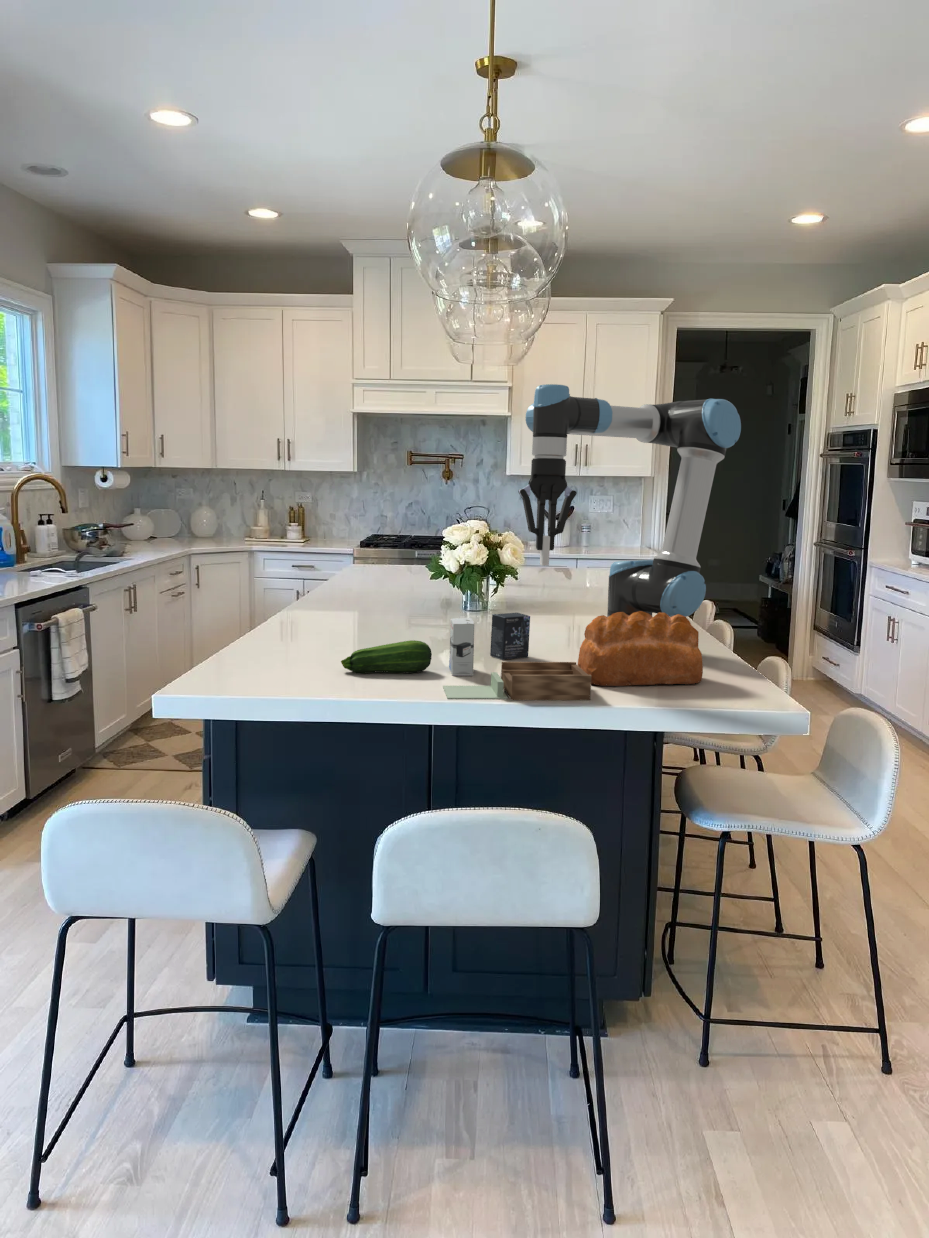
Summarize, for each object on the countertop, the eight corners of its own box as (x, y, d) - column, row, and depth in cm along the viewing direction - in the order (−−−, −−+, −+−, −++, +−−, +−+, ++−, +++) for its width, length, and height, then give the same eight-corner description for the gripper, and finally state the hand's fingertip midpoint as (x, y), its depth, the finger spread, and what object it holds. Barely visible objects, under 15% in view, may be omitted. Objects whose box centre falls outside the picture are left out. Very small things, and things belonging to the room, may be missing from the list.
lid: (499, 689, 189) (500, 671, 188) (507, 701, 179) (508, 682, 178) (442, 689, 188) (443, 671, 187) (447, 701, 177) (447, 682, 177)
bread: (707, 686, 195) (712, 616, 193) (591, 688, 190) (595, 616, 188) (680, 672, 209) (685, 606, 206) (571, 674, 204) (574, 606, 201)
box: (503, 660, 216) (504, 617, 214) (489, 656, 221) (491, 613, 219) (529, 657, 220) (531, 615, 219) (515, 653, 225) (517, 611, 223)
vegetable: (432, 636, 198) (340, 637, 195) (433, 667, 196) (341, 669, 193) (428, 645, 205) (340, 646, 202) (430, 676, 203) (340, 677, 200)
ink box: (448, 667, 206) (450, 617, 204) (470, 668, 206) (471, 617, 204) (451, 676, 198) (452, 623, 196) (473, 676, 198) (475, 623, 196)
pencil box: (574, 684, 193) (575, 661, 192) (590, 699, 180) (591, 675, 179) (500, 684, 191) (501, 661, 190) (511, 700, 178) (512, 675, 177)
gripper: (573, 458, 201) (568, 563, 205) (516, 457, 199) (512, 562, 203) (582, 458, 194) (576, 567, 198) (522, 456, 192) (518, 566, 196)
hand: (544, 565), depth 200 cm, fingers closed
